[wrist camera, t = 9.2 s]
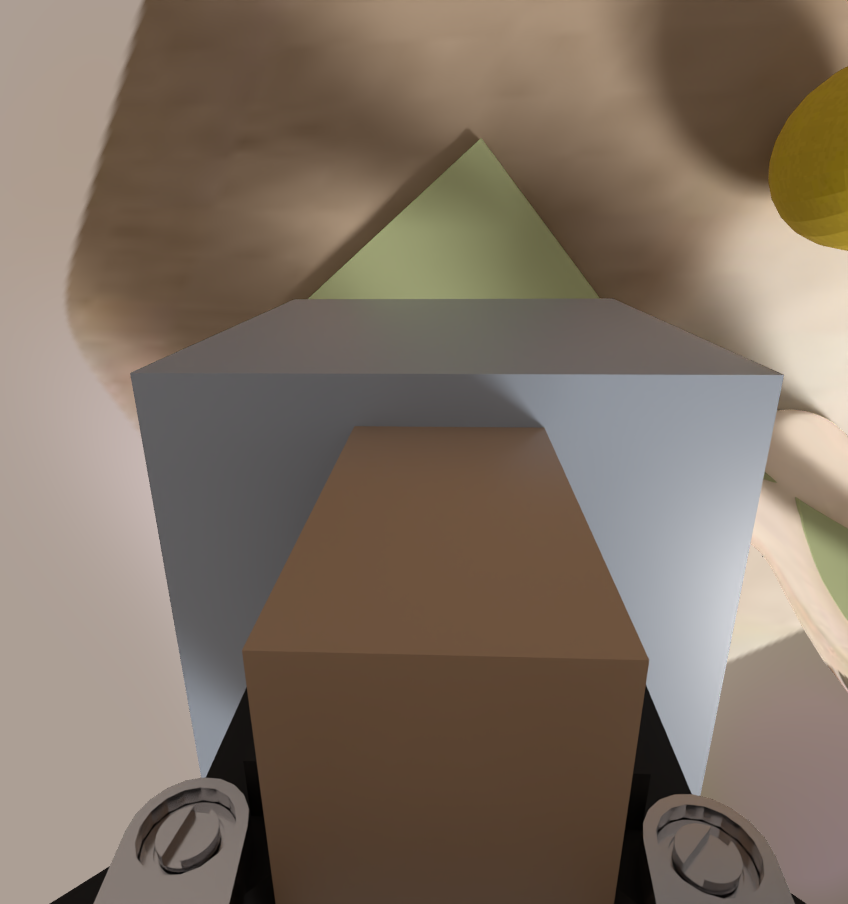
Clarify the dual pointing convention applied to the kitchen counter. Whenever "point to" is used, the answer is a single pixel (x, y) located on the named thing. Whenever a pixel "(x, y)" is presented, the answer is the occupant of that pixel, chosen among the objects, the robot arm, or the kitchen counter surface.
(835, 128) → the lemon
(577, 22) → the kitchen counter surface
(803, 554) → the beer glass
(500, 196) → the mat
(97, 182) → the kitchen counter surface
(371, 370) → the cover
